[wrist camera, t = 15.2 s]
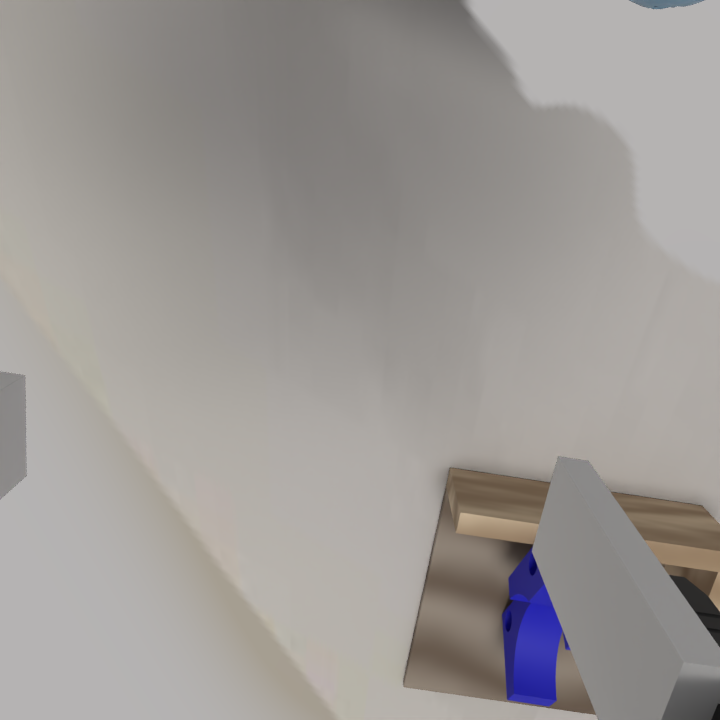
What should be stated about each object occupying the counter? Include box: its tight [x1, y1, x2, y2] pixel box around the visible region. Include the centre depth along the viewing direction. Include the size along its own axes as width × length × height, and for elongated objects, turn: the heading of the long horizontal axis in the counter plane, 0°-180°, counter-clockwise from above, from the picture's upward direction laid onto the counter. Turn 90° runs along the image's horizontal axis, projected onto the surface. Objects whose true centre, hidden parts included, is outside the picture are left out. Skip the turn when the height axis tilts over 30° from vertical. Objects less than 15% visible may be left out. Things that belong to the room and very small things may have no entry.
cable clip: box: [502, 547, 570, 707], centre depth 41 cm, size 12×4×6 cm, turn 169°
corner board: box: [403, 468, 720, 715], centre depth 45 cm, size 20×18×6 cm
